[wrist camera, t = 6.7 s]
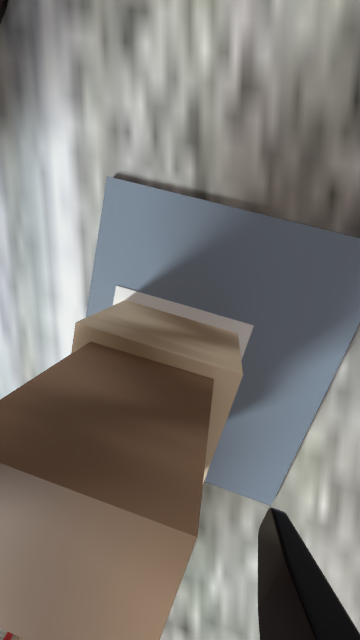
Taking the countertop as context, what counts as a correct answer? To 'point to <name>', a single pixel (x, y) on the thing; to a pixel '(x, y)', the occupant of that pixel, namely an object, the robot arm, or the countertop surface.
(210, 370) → the maple base block
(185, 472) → the brown block
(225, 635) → the countertop surface
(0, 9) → the manual coffee grinder
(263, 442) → the building mat
